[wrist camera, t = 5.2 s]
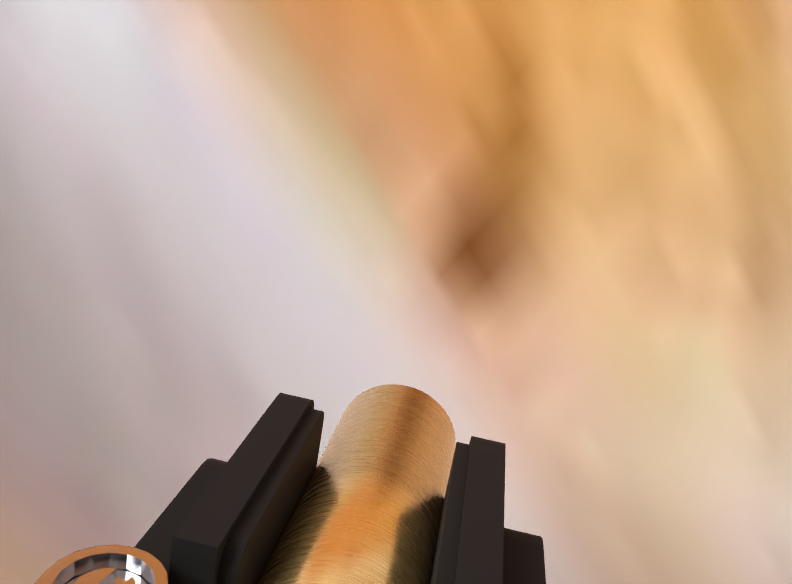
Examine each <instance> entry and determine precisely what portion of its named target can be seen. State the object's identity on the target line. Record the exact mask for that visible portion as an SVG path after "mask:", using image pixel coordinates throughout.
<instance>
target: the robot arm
mask: <svg viewBox="0 0 792 584" xmlns="http://www.w3.org/2000/svg"><path fill="white" fill-rule="evenodd" d="M323 420H324V412H323V411H318V410H314V401H313V400H310V399H305V398H301V397H296V396H292V395H288V394H283V393H280V394H278V396H277V397H276V398H275V400H274V401H273V402H272V404H271V405H270V406H269V408H268V409H267V410H266V412H265V413H264V414H263V416H262V417H261V418H260V420H259V421H258V422H257V424H256V425H255V426H254V428H253V429H252V430H251V432H250V433H249V434H248V436H247V437H246V438H245V440H244V441H243V442H242V444H241V445H240V446H239V448H238V449H237V450H236V452H235V453H234V454H233V456H232V457H231V458H230V460H229V461H228V462H225V461H220V460H216V459H212V458H211V459H207V460H206V461H205V462H204V463H203V464H202V465H201V466H200V467H199V469H198V470H197V471H196V472H195V473H194V475H193V476H192V477H191V478H190V480H189V481H188V482H187V483H186V485H185V486H184V487H183V488H182V489H181V491H180V492H179V493H178V494H177V496H176V497H175V498H174V499H173V501H172V502H171V503H170V504H169V505H168V507H167V508H166V509H165V510H164V512H163V513H162V514H161V515H160V517H159V518H158V519H157V520H156V521H155V523H154V524H153V525H152V526H151V528H150V529H149V530H148V531H147V533H146V534H145V535H144V536H143V537H142V539H141V540H140V541H139V542H138V544H137V545H136V546H135V547H129V546H121V545H105V546H94V547H91V548H87V549H83V550H79V551H76V552H74V553H72V554H70V555H68V556H66V557H64V558H62V559H60V560H59V561H57V562H56V563H55V564H54V565H53V566H51V567H50V568H49V569H48V570H47V571H46V572H45V573H44V574H43V575H42V576H41V577H40V578H39V579H38V580H37V581H36V583H35V584H257V583H258V581H259V579H260V577H261V575H262V573H263V571H264V569H265V567H266V565H267V563H268V561H269V559H270V558H271V556H272V554H273V552H274V550H275V548H276V546H277V544H278V542H279V540H280V538H281V536H282V534H283V532H284V530H285V528H286V526H287V524H288V522H289V520H290V518H291V516H292V514H293V512H294V510H295V508H296V506H297V505H298V503H299V501H300V499H301V497H302V495H303V493H304V491H305V489H306V487H307V485H308V483H309V481H310V479H311V477H312V475H313V473H314V471H315V469H316V466H317V459H318V453H319V446H320V440H321V434H322V427H323ZM504 493H505V444H504V443H500V442H495V441H491V440H487V439H482V438H478V437H473V436H471V440H470V443H469V445H468V444H464V443H459V442H457V443H456V447H455V451H454V456H453V461H452V465H451V470H450V474H449V479H448V484H447V488H446V493H445V497H444V503H443V509H442V515H441V521H440V527H439V533H438V539H437V546H436V552H435V558H434V564H433V570H432V576H431V582H430V584H546V579H545V564H544V549H543V540H542V538H541V537H540V536H536V535H532V534H528V533H523V532H519V531H515V530H511V529H507V528H504Z"/></svg>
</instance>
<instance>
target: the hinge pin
mask: <svg viewBox="0 0 792 584" xmlns="http://www.w3.org/2000/svg"><path fill="white" fill-rule="evenodd" d="M454 451H455V433H454V429H453V426H452V423H451V421H450V418H449V417H448V415H447V413H446V412H445V410H444V409H443V408H442V407H441V405H440V404H438V403H437V402H436V401H435V400H434V399H433V398H431V397H430V396H429V395H427V394H425V393H424V392H422V391H420V390H417V389H415V388H412V387H408V386H403V385H382V386H378V387H374V388H371V389H369V390H367V391H365V392H363V393H361V394H360V395H359V396H357V397H356V398H355V399H354V400H353V401H352V402H351V403H350V404H349V406H348V407H347V409H346V410H345V412H344V414H343V416H342V418H341V420H340V422H339V424H338V426H337V428H336V429H335V431H334V433H333V435H332V437H331V439H330V441H329V443H328V445H327V447H326V449H325V451H324V453H323V455H322V457H321V459H320V461H319V463H318V465H317V467H316V469H315V471H314V473H313V475H312V477H311V479H310V481H309V483H308V485H307V487H306V489H305V491H304V493H303V495H302V497H301V499H300V501H299V503H298V505H297V506H296V508H295V510H294V512H293V514H292V516H291V518H290V520H289V522H288V524H287V526H286V528H285V530H284V532H283V534H282V536H281V538H280V540H279V542H278V544H277V546H276V548H275V550H274V552H273V554H272V556H271V558H270V559H269V561H268V563H267V565H266V567H265V569H264V571H263V573H262V575H261V577H260V579H259V581H258V583H257V584H430V582H431V576H432V570H433V564H434V558H435V552H436V546H437V539H438V533H439V527H440V521H441V515H442V509H443V503H444V497H445V493H446V488H447V484H448V479H449V474H450V470H451V465H452V461H453V456H454Z"/></svg>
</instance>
